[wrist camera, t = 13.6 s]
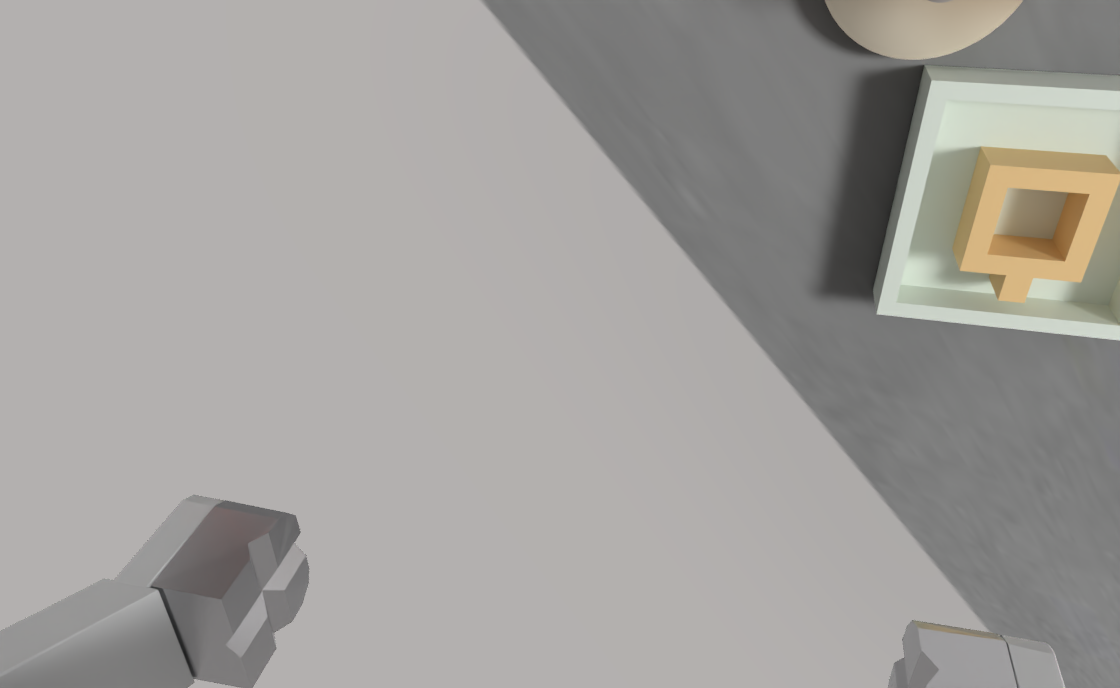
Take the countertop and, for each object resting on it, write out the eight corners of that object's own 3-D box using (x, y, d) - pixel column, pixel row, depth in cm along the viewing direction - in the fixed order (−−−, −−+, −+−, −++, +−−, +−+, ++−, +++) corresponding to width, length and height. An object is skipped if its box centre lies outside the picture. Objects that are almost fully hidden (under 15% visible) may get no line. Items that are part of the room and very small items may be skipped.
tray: (924, 64, 39) (931, 80, 37) (1215, 80, 37) (1239, 98, 35) (872, 290, 46) (876, 314, 44) (1116, 315, 44) (1132, 341, 42)
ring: (980, 146, 40) (990, 165, 38) (1106, 155, 39) (1122, 174, 37) (945, 273, 44) (952, 295, 42) (1058, 284, 43) (1071, 307, 41)
